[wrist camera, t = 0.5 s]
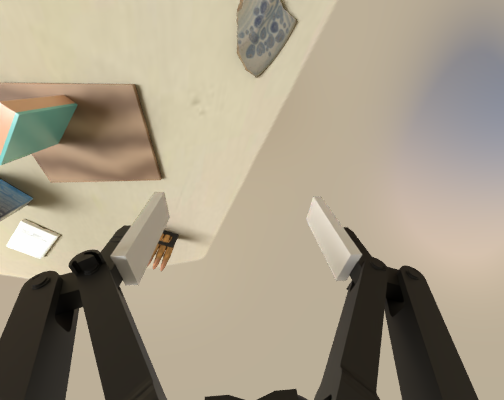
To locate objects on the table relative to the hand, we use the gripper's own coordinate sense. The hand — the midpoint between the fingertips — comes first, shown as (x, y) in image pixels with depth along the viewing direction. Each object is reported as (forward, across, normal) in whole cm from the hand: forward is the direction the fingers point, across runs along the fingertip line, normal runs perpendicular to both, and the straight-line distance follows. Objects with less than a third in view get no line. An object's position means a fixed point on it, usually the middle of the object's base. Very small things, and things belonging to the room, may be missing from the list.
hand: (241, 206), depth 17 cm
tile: (+26, -34, 0) cm, 43 cm away
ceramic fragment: (+28, +2, +16) cm, 33 cm away
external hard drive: (+28, -55, -33) cm, 70 cm away
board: (+27, -30, -3) cm, 41 cm away
